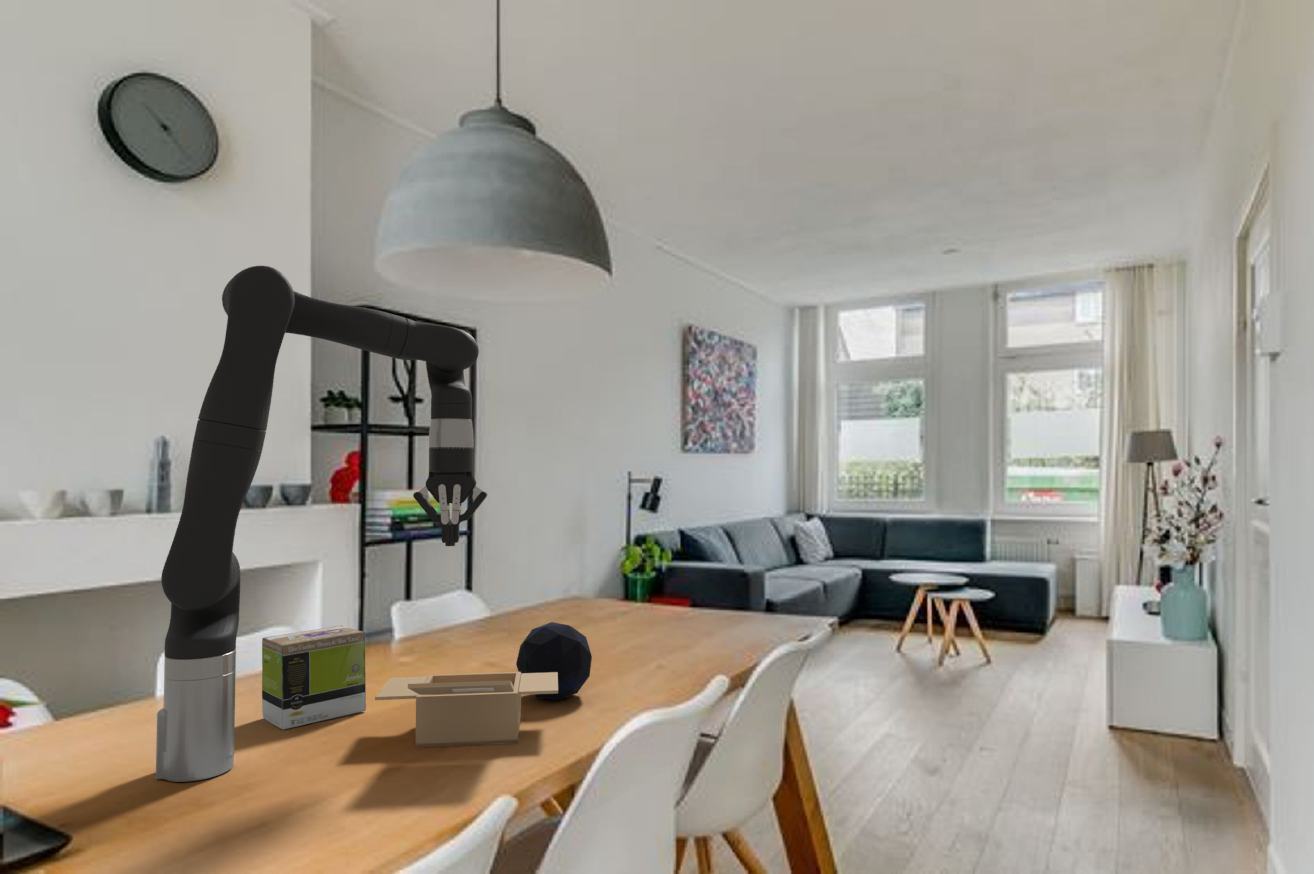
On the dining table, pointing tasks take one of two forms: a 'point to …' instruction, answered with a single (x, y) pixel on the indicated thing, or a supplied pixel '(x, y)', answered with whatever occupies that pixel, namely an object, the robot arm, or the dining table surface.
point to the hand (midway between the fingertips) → (450, 545)
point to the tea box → (313, 676)
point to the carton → (469, 708)
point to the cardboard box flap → (462, 687)
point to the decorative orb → (556, 657)
